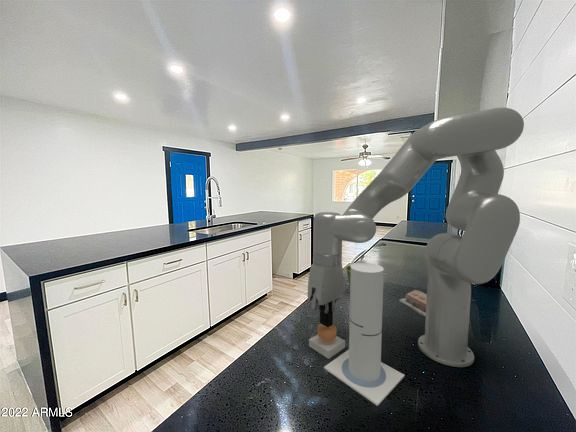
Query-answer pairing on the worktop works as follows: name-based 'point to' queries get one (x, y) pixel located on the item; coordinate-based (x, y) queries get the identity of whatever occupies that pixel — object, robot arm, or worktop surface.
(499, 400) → the worktop surface
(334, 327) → the button
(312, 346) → the button housing
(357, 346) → the cylindrical container
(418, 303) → the packaged product
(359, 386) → the white flat plate
